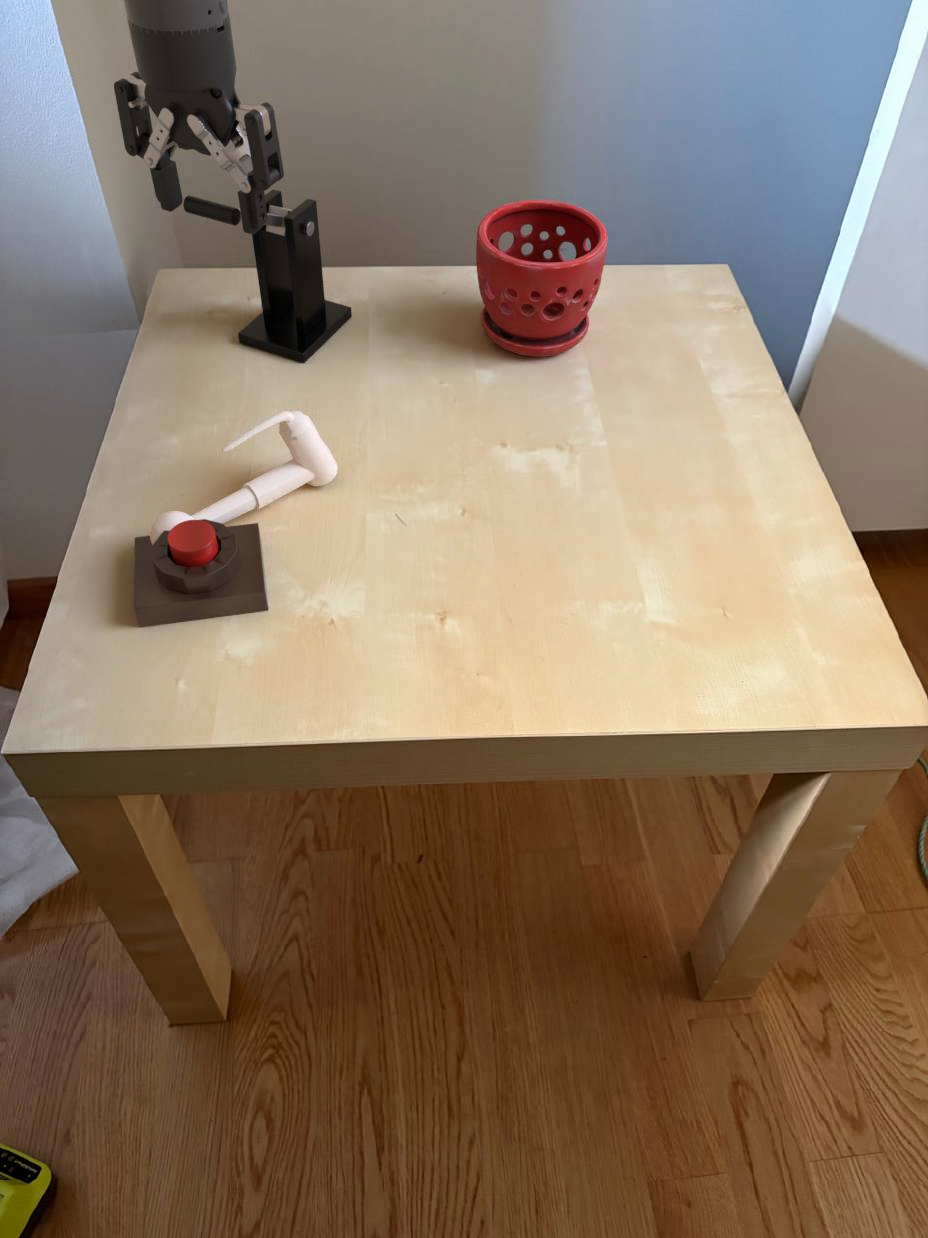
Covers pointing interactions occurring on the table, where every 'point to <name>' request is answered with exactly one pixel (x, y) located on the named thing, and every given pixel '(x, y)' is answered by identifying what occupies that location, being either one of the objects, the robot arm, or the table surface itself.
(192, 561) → the button
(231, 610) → the button block
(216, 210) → the lever
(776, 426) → the table surface
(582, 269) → the flower pot
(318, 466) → the faucet
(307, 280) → the bracket
